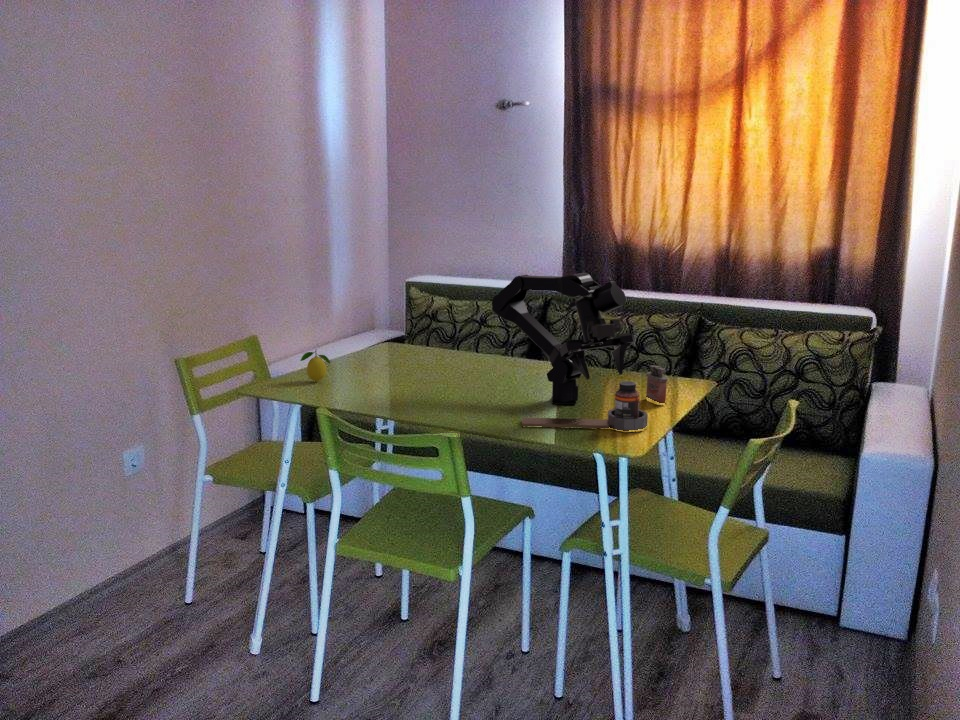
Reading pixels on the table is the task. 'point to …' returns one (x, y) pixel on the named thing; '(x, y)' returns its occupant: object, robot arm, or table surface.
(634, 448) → the table surface
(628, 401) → the supplement bottle
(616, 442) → the table surface
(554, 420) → the cup bracket
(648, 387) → the lighter
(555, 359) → the robot arm
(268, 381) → the table surface
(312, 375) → the lemon
